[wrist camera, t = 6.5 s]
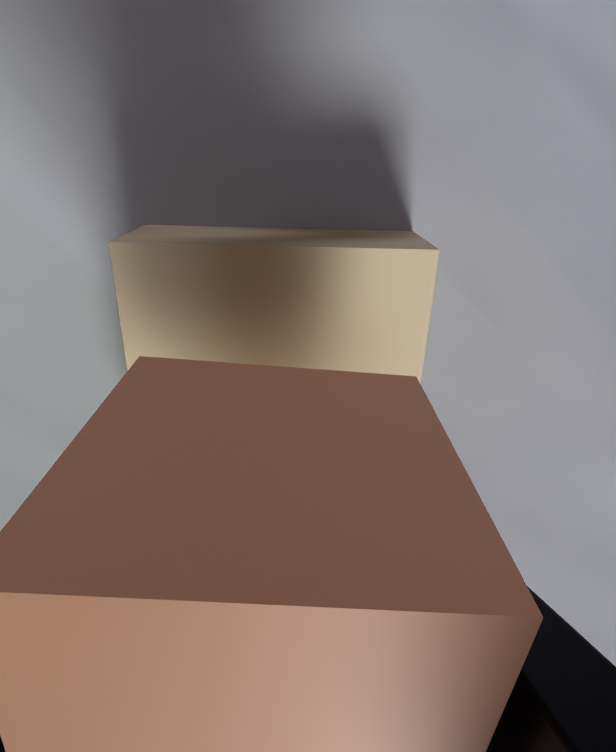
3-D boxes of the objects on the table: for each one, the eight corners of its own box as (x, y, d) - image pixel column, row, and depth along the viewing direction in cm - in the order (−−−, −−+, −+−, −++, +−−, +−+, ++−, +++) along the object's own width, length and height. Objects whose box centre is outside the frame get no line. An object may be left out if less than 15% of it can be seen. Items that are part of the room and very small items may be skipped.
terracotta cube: (416, 376, 8) (542, 617, 4) (375, 574, 10) (431, 877, 6) (139, 356, 8) (-46, 590, 4) (153, 562, 9) (43, 871, 5)
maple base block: (409, 229, 13) (439, 250, 10) (384, 446, 16) (403, 507, 13) (149, 222, 13) (108, 241, 10) (173, 444, 16) (147, 505, 13)
